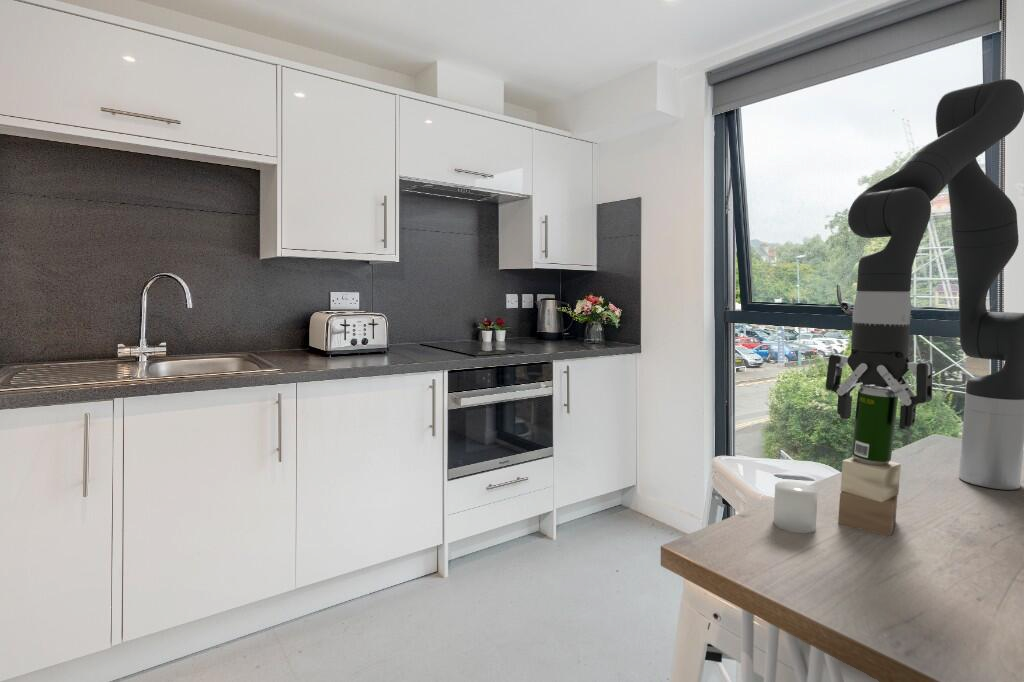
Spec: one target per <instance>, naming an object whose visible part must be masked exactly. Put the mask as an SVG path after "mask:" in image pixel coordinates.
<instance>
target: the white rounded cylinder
mask: <svg viewBox="0 0 1024 682" xmlns="http://www.w3.org/2000/svg"><path fill="white" fill-rule="evenodd" d="M818 492H819V491H818V488H815V486H812V485H809V484H806V483H803V482H798V481H780V482H777V483H775V484H774V500H773V501H774V503H773V505H774V506H773V524H774V526H775V527H778V528H779V529H781V530H783V531H786V532H790V533H795V534H811V533H814V532H815V531H816V530H817V515H818V513H817V512H818V494H819V493H818Z"/></svg>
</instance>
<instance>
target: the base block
mask: <svg viewBox="0 0 1024 682" xmlns="http://www.w3.org/2000/svg"><path fill="white" fill-rule="evenodd" d="M898 495H899V494H898ZM898 495H896V496H894V497H892V498H890V499H888V500H886V501H883V502H879V501H875V500H872V499H868V498H865V497H861V496H858V495H854V494H851V493H847V492H844V491H841V492H840V494H839V505H838V519H837V520H838V521H837V524H838V523H839V525H842V524H843V526H847V527H851V526H852V527H851V528H855V527H856V529H859V528H861V529H860V530H864V529H865V530H864V531H868V530H869V531H868V532H872V531H873V533H876V534H881V535H885V536H889V537H890V536H891V535H892V533H893V530H894V527H895V524H896V520H897V519H896V518H897V507H898V505H897V504H898Z"/></svg>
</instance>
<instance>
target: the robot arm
mask: <svg viewBox="0 0 1024 682" xmlns="http://www.w3.org/2000/svg"><path fill="white" fill-rule="evenodd" d="M1023 116H1024V89H1023V87H1022V86H1021V84H1020V83H1019V82H1018V81H1016V80H1014V79H1011V78H1010V79H1009V78H1003V79H995V80H992V81H987V82H983V83H979V84H975V85H970V86H967V87H962V88H959V89H956V90H955V89H954V90H951V91H948V92H946V93H945V94H943V95H942V96H941V97H940V99H939V100H938V102H937V105H936V111H935V128H936V129H935V131H936V136H937V138H934V139H933V140H931V141H930V142H928V143H926V144H925V145H923V146H921V147H920V148H919V149H917V150H916V151H915V152H913V153H912V154H911V155H910V156H909V157H908V158H907V159H906V160H905V161H904V162H903V163H902V164H901V165H900V166H899V167H898V168H897V170H895V172H893V173H891V174H890V175H888V176H886V177H884V178H883V179H881V180H879V181H878V182H876V183H875V184H873V185H871V186H869V187H868V188H867V189H865V190H864V191H862V192H861V193H860V194H859V195H858V196H857V197H855V199H854V201H853V202H852V203H851V206H850V207H849V210H848V214H847V223H848V226H849V228H850V230H851V232H852V233H854V234H855V235H856V236H857V237H860V238H864V239H876V238H877V239H878V238H888V237H889V240H888V242H887V244H886V245H885V247H884V248H883V249H880V250H879V251H874V252H872V253H868V254H865V255H863V256H862V257H860V259H859V262H858V265H857V279H856V280H857V281H856V291H855V292H856V294H855V298H854V302H853V312H852V315H851V317H852V326H851V327H852V328H851V339H850V340H851V341H850V348H851V349H850V351H851V352H850V355H849V356H847V355H843V354H842V353H834V354H830V355H829V357H828V364H827V371H826V374H827V375H826V379H825V381H826V382H825V389H826V390H827V391H832V392H834V393H835V394H836V395H837V408H836V409H837V410H836V411H837V415H839V418H840V419H842V420H848V419H850V418H851V417H852V403H853V402H852V401H853V395H851V393H852V392H853V391H854V390H855V389H856V388H857V387H858V386H860V385H861V384H864V385H873V384H874V385H877V386H879V387H888V386H889V387H890V388H891V389H892V391H893V392H894V393H896V394H897V396H898V399H899V400H900V401H901V403H902V404H900V413H899V423H898V424H899V425H898V426H899V430H904V431H907V430H909V429H910V428H911V427H912V426H914V425H915V423H916V413H917V405H918V404H919V405H920V404H924V403H929V402H931V401H932V400H933V363H931V362H930V361H924V362H910V360H909V357H908V353H909V342H910V341H909V340H910V330H911V329H910V327H911V315H912V301H911V287H912V286H911V285H912V275H913V274H912V272H913V265H914V262H915V260H916V256H917V253H918V251H919V247H920V245H921V242H922V239H923V238H924V237H923V236H924V235H925V233H926V230H927V228H928V225H929V223H930V219H931V215H932V203H931V202H932V201H933V200H934V199H936V198H937V196H938V195H939V194H940V193H941V192H942V191H943V189H945V187H946V186H947V190H948V199H949V207H950V208H949V209H950V223H951V224H950V225H951V235H952V244H953V251H954V257H955V263H956V264H955V265H956V273H957V282H958V321H959V322H958V325H959V326H958V328H959V330H958V331H959V332H958V334H959V343H960V346H961V349H962V351H963V353H964V354H965V356H967V357H969V358H974V359H982V360H983V359H984V360H993V361H1002V362H1004V364H1003V367H1002V368H1001V369H1000V370H999V371H996V372H993V373H991V374H987V375H979V376H974V377H970V378H968V379H967V381H966V386H965V395H964V396H965V397H964V410H963V411H964V412H963V420H962V422H963V423H962V432H961V433H962V434H961V445H960V446H961V447H960V456H959V469H958V478H959V479H960V480H962V481H964V482H966V483H968V484H972V485H974V486H975V485H976V486H979V487H984V488H989V489H995V490H996V489H997V490H1008V491H1010V490H1011V491H1012V490H1019V488H1020V487H1021V480H1022V479H1021V478H1022V468H1023V458H1024V312H1009V311H1008V312H1006V311H1004V312H1003V311H988V310H987V297H988V293H989V291H990V288H991V286H993V284H994V281H995V280H996V279H997V277H998V276H999V275H1000V273H1001V272H1002V271H1003V270H1004V268H1005V267H1006V265H1007V264H1008V263H1009V262H1010V261H1011V259H1012V257H1013V256H1014V254H1015V253H1016V251H1017V249H1018V246H1019V241H1020V240H1019V230H1018V228H1019V227H1018V226H1019V225H1018V214H1017V209H1016V207H1015V205H1014V203H1013V202H1012V200H1011V199H1010V197H1008V195H1007V194H1006V193H1005V192H1004V191H1003V190H1002V189H1001V188H1000V187H999V186H998V185H997V184H996V183H995V182H994V181H992V179H990V177H989V176H988V175H987V174H986V173H985V172H984V170H983V169H982V168H981V166H980V164H979V163H978V160H977V158H978V157H979V156H980V155H982V154H983V153H984V152H986V151H987V150H989V149H990V148H991V147H992V146H994V145H995V144H996V143H999V141H1001V140H1002V139H1004V138H1006V137H1007V136H1008V135H1010V134H1011V133H1012V132H1013V131H1014V130H1015V129H1016V128H1017V127H1018V125H1019V124H1020V122H1021V121H1022V118H1023ZM847 365H848V366H849V368H850V369H851V370H852V373H851V374H850V375H849V376H848V377H847V378H846V379H845V380H844V381H843V383H842V384H841V382H842V381H841V380H842V373H843V368H845V367H846V366H847ZM909 370H910V371H911V373H912V375H913V376H914V377H915V379H916V381H915V383H916V388H915V389H916V395H915V393H914V392H913V390H912V389H911V386H910V384H909V383H908V382H907V381H908V380H906V379H905V377H904V375H905V374H906V373H908V372H909Z"/></svg>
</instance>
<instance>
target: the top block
mask: <svg viewBox="0 0 1024 682" xmlns="http://www.w3.org/2000/svg"><path fill="white" fill-rule="evenodd" d="M841 465H842V467H841V481H840V491H841V492H842V491H844V492H847V493H851V494H854V495H858V496H861V497H865V498H868V499H872V500H875V501H879V502H883V501H886V500H888V499H890V498H892V497H894V496H896V495H899V493H900V491H899V489H900V478H901V477H900V476H901V463H899V462H894V461H892V460H891V461H890V462H889V463H888V464H887V465H885V466H876V465H869V464H865V463H861V462H858V461H856V460H854V459H853V456H851V457H849V458H848V457H847V458H846V459H843V460H842V464H841Z"/></svg>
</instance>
